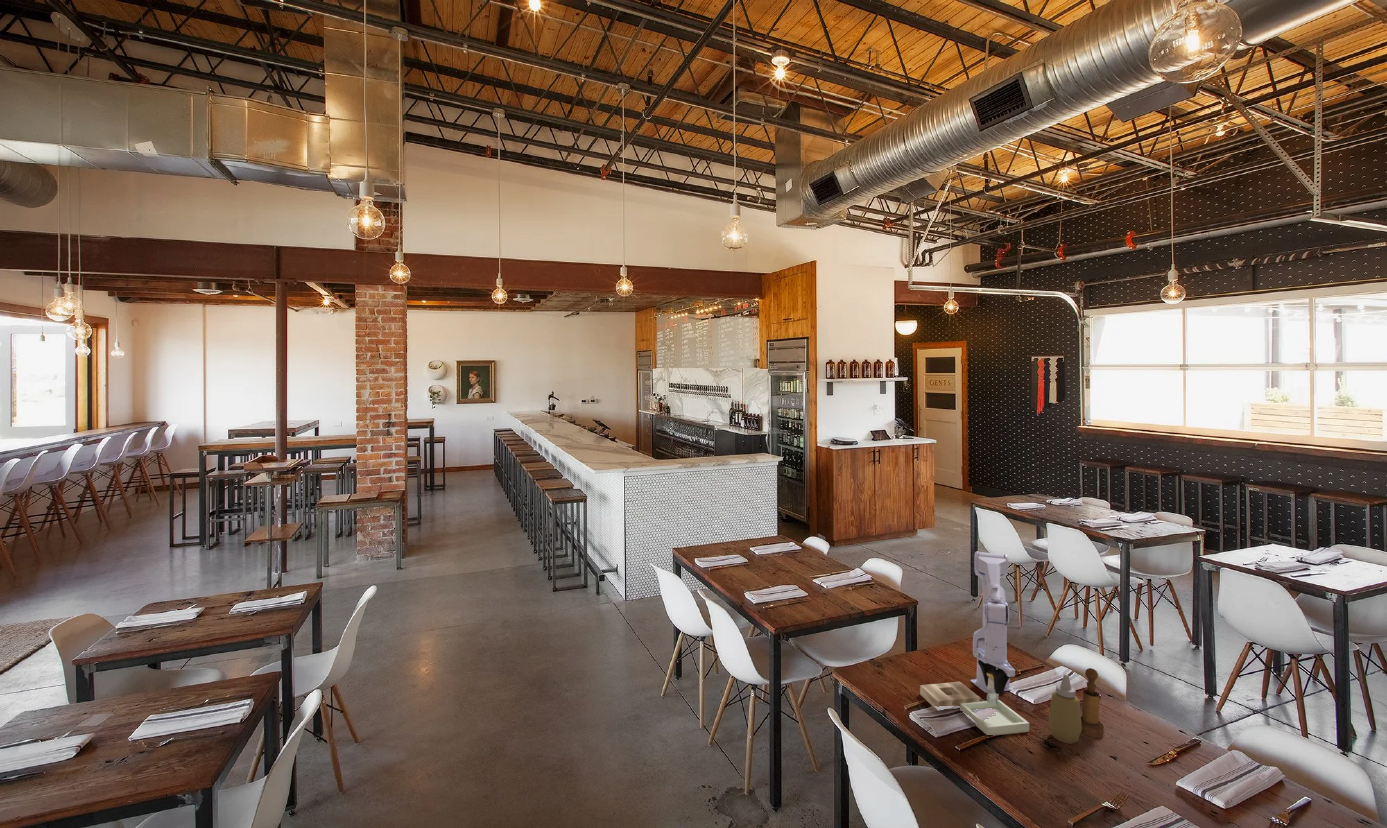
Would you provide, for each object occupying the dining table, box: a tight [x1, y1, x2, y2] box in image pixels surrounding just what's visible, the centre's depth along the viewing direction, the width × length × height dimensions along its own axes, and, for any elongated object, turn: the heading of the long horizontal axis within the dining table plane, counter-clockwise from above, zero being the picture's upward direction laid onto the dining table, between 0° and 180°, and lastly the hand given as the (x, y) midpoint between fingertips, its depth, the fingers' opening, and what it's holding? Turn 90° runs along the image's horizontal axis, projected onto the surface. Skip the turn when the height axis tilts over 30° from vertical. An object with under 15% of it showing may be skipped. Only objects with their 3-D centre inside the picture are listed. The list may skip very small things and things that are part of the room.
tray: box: [959, 699, 1030, 736], centre depth 177 cm, size 13×13×2 cm
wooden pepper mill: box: [1081, 667, 1105, 738], centre depth 172 cm, size 7×6×18 cm
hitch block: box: [919, 681, 981, 707], centre depth 189 cm, size 14×10×3 cm
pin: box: [986, 670, 1000, 705], centre depth 177 cm, size 4×4×9 cm
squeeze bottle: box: [1047, 674, 1082, 745], centre depth 169 cm, size 8×8×18 cm
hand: (994, 689), depth 177 cm, fingers closed on pin, 4 cm apart
